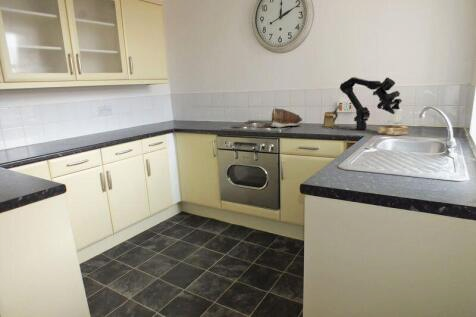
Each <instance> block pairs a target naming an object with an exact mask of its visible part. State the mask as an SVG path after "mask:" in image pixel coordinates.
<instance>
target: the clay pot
mask: <svg viewBox="0 0 476 317" xmlns="http://www.w3.org/2000/svg"><path fill="white" fill-rule="evenodd" d="M270 121H271V122H270V127H272V128H279V129H280V128H283V127H294V126H295V127H296V126H297V125H299V124H301V123H303V121H304V120H303V118H302V117H301V116H300V115H299V114H296V113H295V112H292V111H289V110H286V109H283V108H275V107H273V109H272V111H271V120H270Z"/></svg>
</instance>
